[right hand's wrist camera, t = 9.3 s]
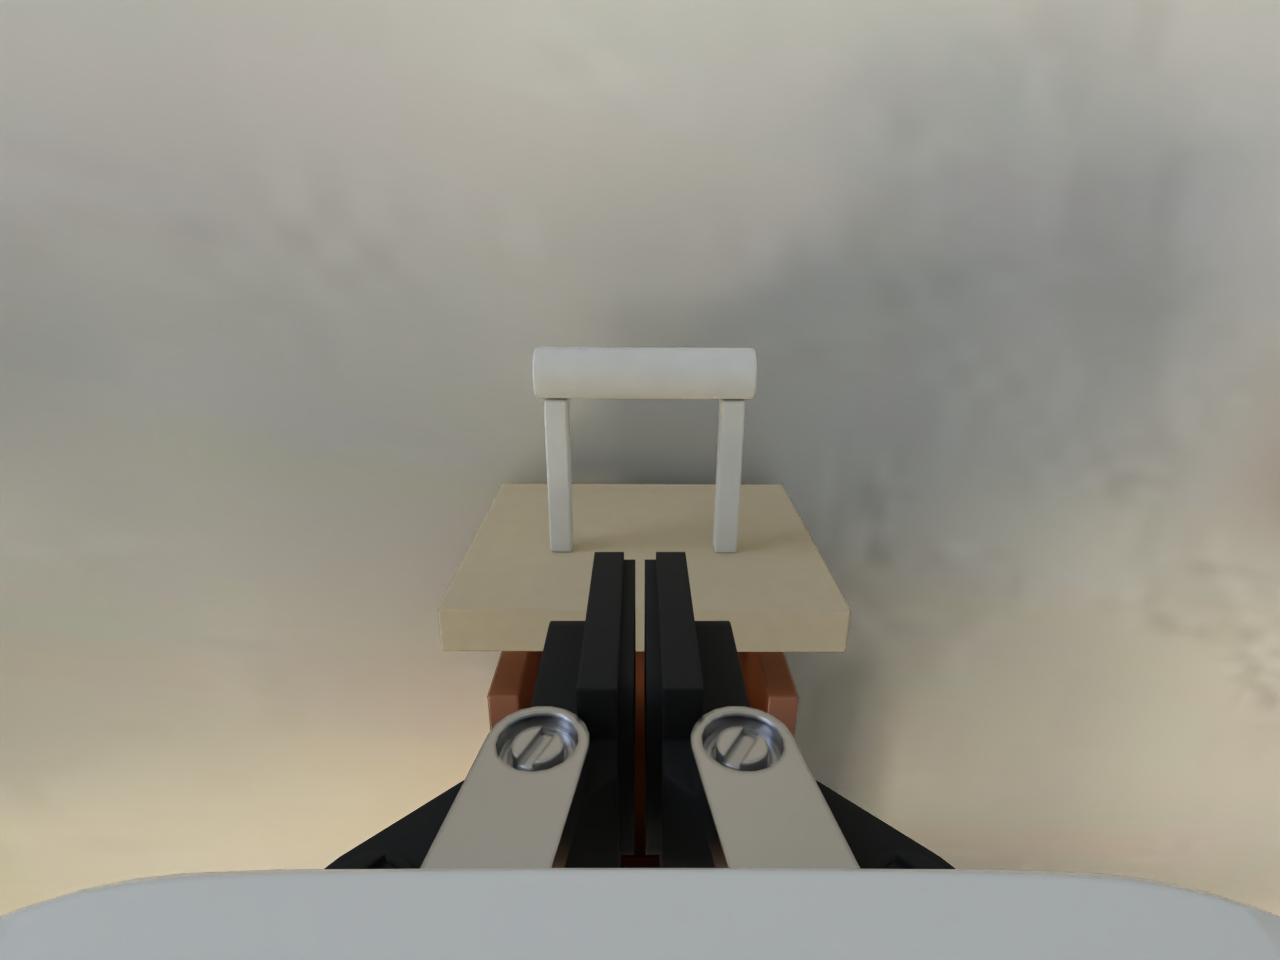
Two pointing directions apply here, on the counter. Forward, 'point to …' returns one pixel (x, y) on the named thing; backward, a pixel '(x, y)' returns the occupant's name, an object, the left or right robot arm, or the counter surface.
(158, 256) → the counter surface
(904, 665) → the counter surface
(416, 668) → the counter surface
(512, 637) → the drawer
